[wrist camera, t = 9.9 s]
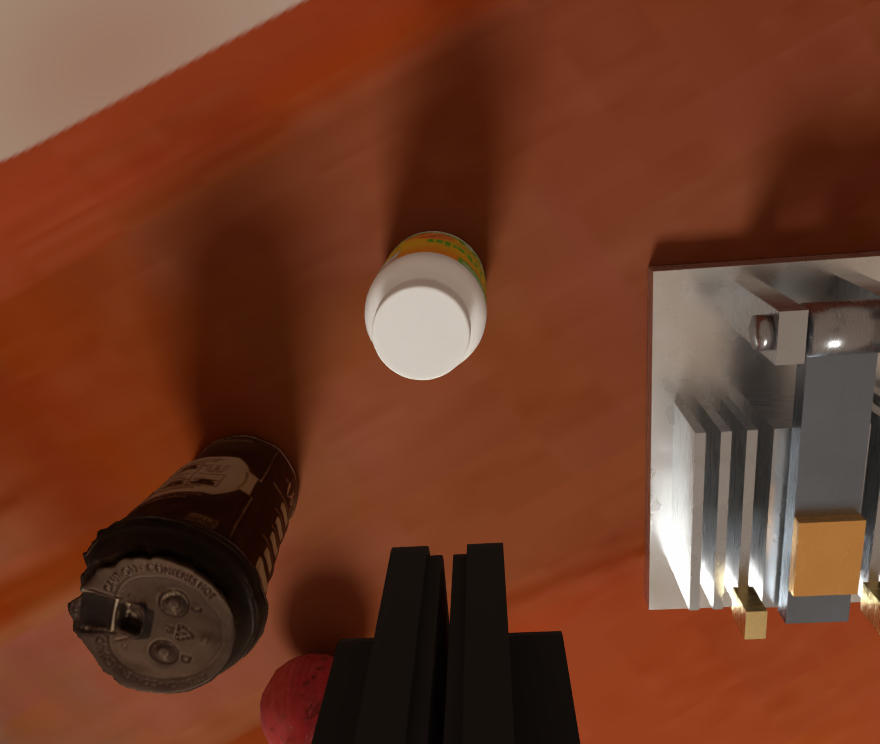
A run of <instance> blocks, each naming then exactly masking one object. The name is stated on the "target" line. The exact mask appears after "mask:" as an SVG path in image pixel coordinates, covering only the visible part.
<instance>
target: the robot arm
mask: <svg viewBox="0 0 880 744" xmlns="http://www.w3.org/2000/svg"><path fill="white" fill-rule="evenodd" d="M311 744H580V739H579V733H578V727H577V721H576V715H575V709H574V702H573V696H572V690H571V684H570V678H569V672H568V665H567V659H566V653H565V647H564V641H563V636H562V632H561V631H550V632H522V633H508V618H507V602H506V585H505V569H504V552H503V543H484V544H467V554H456V555H453V571H452V589H451V608H450V625H449V614H448V603H447V592H446V581H445V570H444V560H443V556H442V555H433V556H430V551H429V547H428V546H417V547H394V548H392V550H391V553H390V559H389V564H388V569H387V574H386V579H385V584H384V589H383V595H382V600H381V605H380V610H379V615H378V620H377V625H376V630H375V636H374V638H354V639H341V640H340V641H339V642H338V645H337V647H336V650H335V654H334V658H333V662H332V666H331V670H330V673H329V677H328V681H327V685H326V689H325V693H324V696H323V700H322V704H321V708H320V712H319V716H318V719H317V723H316V727H315V731H314V735H313V738H312V742H311Z"/></svg>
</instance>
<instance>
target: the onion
mask: <svg viewBox="0 0 880 744" xmlns="http://www.w3.org/2000/svg"><path fill="white" fill-rule="evenodd" d="M333 658H334V657H333V656H331V655H328V654H318V653H310V654H306V655H302V656H298V657H295V658H293V659H291V660H289V661H288V662H287V663H285V664H284V665H283V666H281V667H280V668H278V669H277V670H276V671H275V673H274V675H273V676H272V678H271V680H270V681H269V683H268V685H267V687H266V688H265V690H264V692H263V694H262V698H261V702H260V714H261V725H262V729H263V732H264V734H265V736H266V738H267V740H268V742H269V744H311V742H312V738H313V735H314V731H315V727H316V723H317V719H318V716H319V712H320V708H321V704H322V700H323V696H324V693H325V689H326V685H327V681H328V677H329V673H330V670H331V666H332V662H333Z"/></svg>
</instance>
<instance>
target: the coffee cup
mask: <svg viewBox="0 0 880 744" xmlns="http://www.w3.org/2000/svg"><path fill="white" fill-rule="evenodd" d="M297 498H298V488H297V481H296V476H295V473H294V470H293V467H292V466H291V464H290V462H289V460H288V459H287V458H286V456H285V455H284V454H283V453H282V451H281V450H280V449H279V448H277V447H276V446H274V445H272V444H270V443H268V442H266V441H263V440H261V439H259V438H256V437H253V436H246V435H237V436H231V437H227V438H223V439H220V440H217V441H214V442H213V443H211V444H210V445H209V446H207V447H206V448H204V449H203V450H202V452H201V453H200V455H199V456H198V457H197V458H195V459H194V460H193V461H191V462H189V463H188V464H186V465H185V466H183V467H182V468H180V469H179V470H178V471H177V472H176V473H174V474H173V475H172V476H171V477H170V478H169V479H168V480H167V481H166V482H165V483H164V484H163V485H162V486H160V487H159V488H158V489H157V490H156V491H155V492H153V493H152V494H151V495H150V496H149V497H148V498H147V499H145V500H144V501H143V502H142V503H141V504H140V505H139V506H137V507H136V508H135V509H134V510H132V511H131V512H130V513H129V514H128V515H127V516H126V517H125V518H123V519H122V520H120V521H116V522H115V523H113V524H112V525H111V526H109V527H108V528H105V529H101V530H99V531H98V533H97V538H96V539H95V540H94V541H93V542H92V544H91V546H90V547H89V549H88V551H87V552H84V553H83V557H84V560H85V563H86V565H87V569H86V570H85V571H84V572H83V573H82V575H81V577H80V578H81V587H80V591H81V592H82V594H81V596H80V597H78V598H76V599H74V600H72V601H71V602H70V603H68V611H69V614H70V615H71V617H72V619H73V631H74V632H75V633H76V634H77V636H78V637H79V638H80V639H81V640H82V641H83V643H84V644H85V645H86V646H87V648H88V649H89V651H90V652H91V653H92V655H93V656H94V658H95V659H96V661H97V663H98V664H99V665H100V667H101V668H102V669H103V672H106V673H107V674H109V675H111V676H113V678H114V679H115V681H117V682H118V683H119V685H122V686H125V687H126V688H132V689H136V690H137V691H145V692H153V693H165V694H173V693H181V692H188V691H191V690H193V689H196V688H198V687H201V686H202V685H204V684H207V683H208V682H210V681H212V680H213V679H214V678H215V677H216V676H217V675H219V674H221V673H222V672H224V671H226V670H227V669H228V668H230V667H231V666H233V665H234V664H235V663H236V662H238V661H239V660H240V659H241V658H243V657H245V656H246V655H247V654H248V653H249V652H250V651H251V650H252V648H253V647H254V646H255V644H256V643H257V641H258V640H259V638H260V637H261V636H262V634H263V632H264V628H265V625H266V621H267V615H268V601H267V598H266V592H267V586H268V582H269V581H270V579H271V577H272V575H273V571H274V564H275V561H276V558H277V555H278V552H279V547H280V544H281V542H282V541H283V539H284V536H285V533H286V531H287V528H288V524H289V520H290V519H291V517H292V516H293V514H294V511H295V508H296V504H297Z"/></svg>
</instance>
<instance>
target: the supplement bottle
mask: <svg viewBox="0 0 880 744" xmlns="http://www.w3.org/2000/svg"><path fill="white" fill-rule="evenodd" d="M486 318H487V305H486V281H485V274H484V269H483V266H482V264H481V261H480V259H479V258H478V256H477V254H476V253H475V252H474V250H473V249H472V248H471V247H470V246H469V245H468V244H467V243H466V242H464V241H463V240H461V239H460V238H458V237H456V236H454V235H452V234H449V233H445V232H439V231H427V232H421V233H418V234H415V235H413V236H410V237H409V238H407V239H405V240H404V241H402V242H401V243H400V244H399V245H398V246H397V247H396V248H395V249H394V250H393V251H392V253H391V254H390V255H389V257H388V258H387V260H386V262H385V263H384V265H383V267H382V268H381V270H380V271H379V273H378V275H377V276H376V278H375V279H374V281H373V283H372V285H371V287H370V289H369V292H368V295H367V299H366V304H365V323H366V328H367V331H368V334H369V336H370V339H371V340H372V342H373V344H374V347H375V349H376V352H377V354H378V355H379V357H380V358H381V360H382V361H383V362H384V363H385V364H386V365H387V367H389V368H390V369H391V370H392V371H394V372H395V373H397V374H399V375H401V376H403V377H406V378H410V379H416V380H429V379H434V378H437V377H440V376H442V375H444V374H446V373H448V372H450V371H451V370H452V369H454V368H455V367H456V366H457V365H458V364H460V363H461V362H463V361H464V360H465V359H466V358H467V357H469V356H470V355H471V353H472V352H473V351H474V350H475V348H476V347H477V346H478V344H479V342H480V340H481V338H482V335H483V332H484V329H485V324H486Z"/></svg>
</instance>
